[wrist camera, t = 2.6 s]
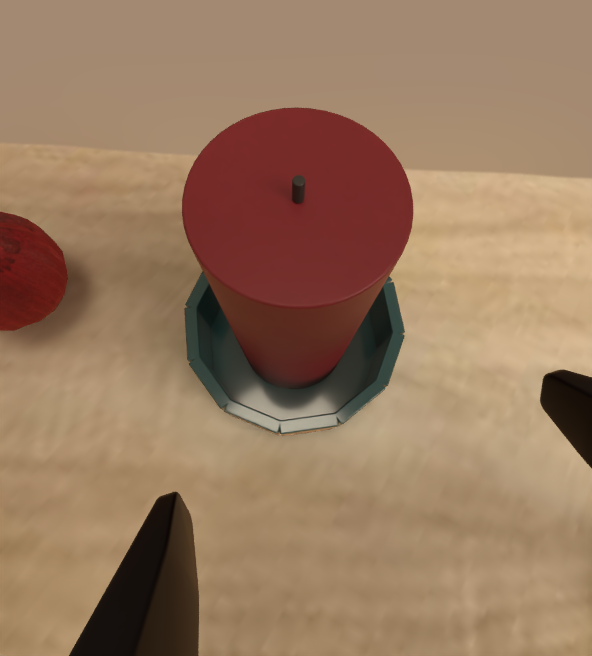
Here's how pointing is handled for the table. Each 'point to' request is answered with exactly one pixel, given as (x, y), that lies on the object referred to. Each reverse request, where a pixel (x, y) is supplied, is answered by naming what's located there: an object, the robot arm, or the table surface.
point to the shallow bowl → (292, 404)
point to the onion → (28, 273)
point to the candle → (296, 234)
